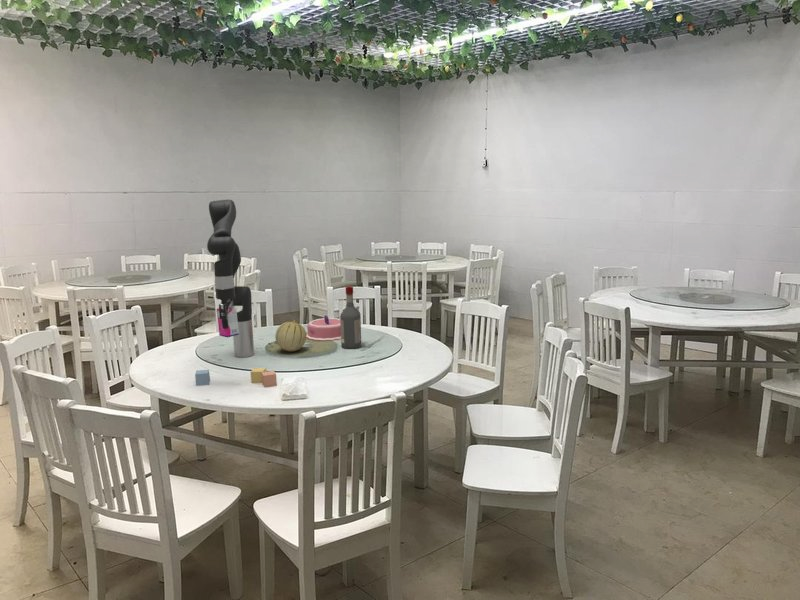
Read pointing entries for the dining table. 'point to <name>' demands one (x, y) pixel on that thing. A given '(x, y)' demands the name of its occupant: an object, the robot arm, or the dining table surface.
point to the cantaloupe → (290, 336)
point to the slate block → (202, 377)
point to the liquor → (350, 323)
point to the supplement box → (229, 323)
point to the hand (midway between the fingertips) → (227, 325)
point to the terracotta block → (269, 379)
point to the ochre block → (257, 375)
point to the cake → (324, 329)
